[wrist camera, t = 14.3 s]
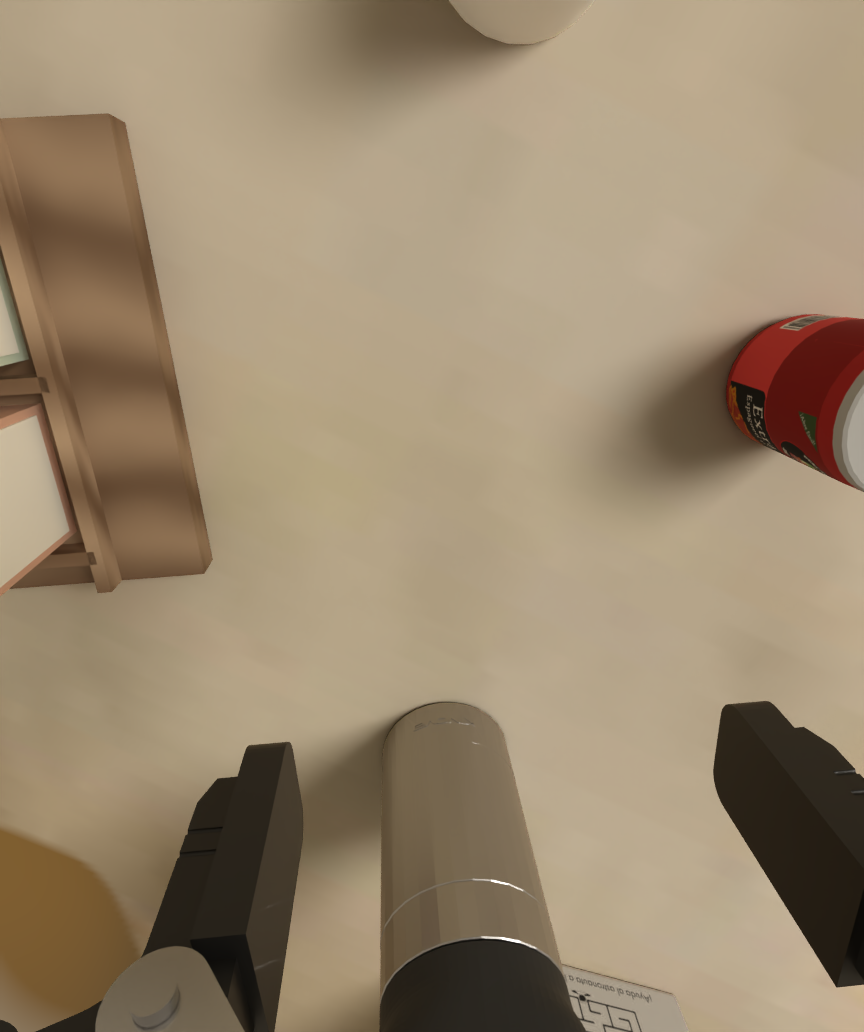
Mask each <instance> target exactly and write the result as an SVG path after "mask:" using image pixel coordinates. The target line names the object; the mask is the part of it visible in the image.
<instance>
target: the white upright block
mask: <svg viewBox="0 0 864 1032" xmlns="http://www.w3.org/2000/svg"><path fill="white" fill-rule="evenodd" d="M448 1H449V2H450V3H451V5H452V6H453V7H454V8H455V10H456V11H457V12H458V13H459V15H460V16H461V17H462V19H463V20H464V21H465V22H466V23H468V24H469V25H470V26H472V27H473V28H475V29H476V30H477V31H479V32H480V33H481V34H483V35H484V36H486V37H489V38H492V39H495V40H498V41H500V42H503V43H506V44H534V43H537V42H541V41H544V40H547V39H551V38H554V37H556V36H557V35H559V34H560V33H562V32H563V31H565V30H566V29H568V28H569V27H571V26H572V25H574V24H575V23H576V22H577V21H578V20H579V19H580V18H581V16H582V15H583V14H584V13H585V12H586V11H587V10H588V9H589V7H590V6H591V5H592V4H593V3H594V2H595V0H448Z"/></svg>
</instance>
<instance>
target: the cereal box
mask: <svg viewBox="0 0 864 1032" xmlns="http://www.w3.org/2000/svg"><path fill="white" fill-rule="evenodd" d="M562 968H563V972H564V976H565V981H566V985H567V988H568V992H569V996H570V1000H571V1004H572V1007H573V1010H574V1012H575V1014H576V1015H577V1016H578V1018H579V1019H580V1021H581V1023H582V1024H583V1026H584V1028H585V1030H586V1032H689V1030H688V1027H687V1025H686V1022H685V1020H684V1017H683V1014H682V1012H681V1009H680V1007H679V1004H678V1002H677V999H676V997H675V996H674V995H673V994H670V993H666V992H663V991H659V990H655V989H651V988H648V987H644V986H640V985H637V984H633V983H629V982H625V981H622V980H618V979H614V978H610V977H607V976H603V975H599V974H595V973H592V972H588V971H584V970H580V969H577V968H573V967H569V966H565V965H562Z"/></svg>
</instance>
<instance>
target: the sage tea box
mask: <svg viewBox="0 0 864 1032" xmlns="http://www.w3.org/2000/svg"><path fill="white" fill-rule="evenodd" d="M27 359H29V357H28V353H27V350H26V346H25V343H24V339H23V336H22V332H21V328H20V325H19V321H18V318H17V314H16V311H15V307H14V304H13V300H12V297H11V293H10V290H9V286H8V283H7V279H6V276H5V272H4V269H3V265H2V262H1V258H0V366H4V365H8V364H12V363H16V362H20V361H24V360H27Z"/></svg>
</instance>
